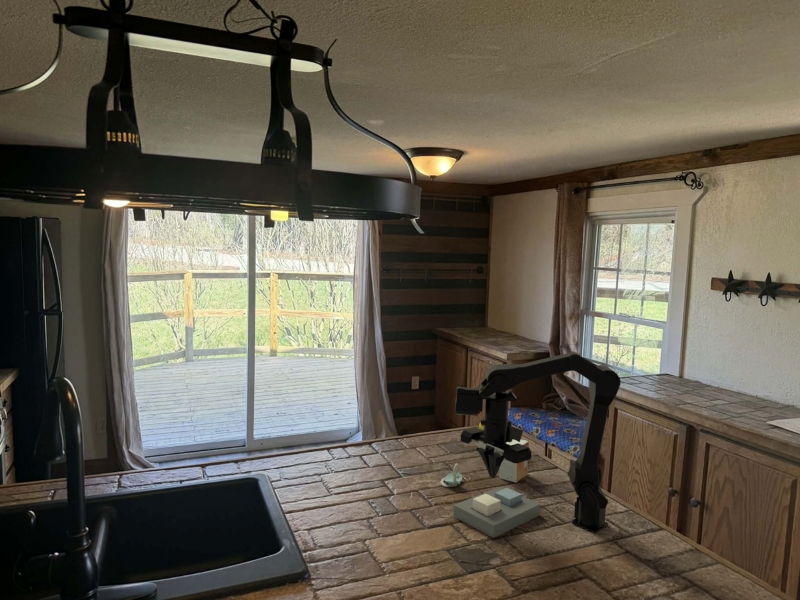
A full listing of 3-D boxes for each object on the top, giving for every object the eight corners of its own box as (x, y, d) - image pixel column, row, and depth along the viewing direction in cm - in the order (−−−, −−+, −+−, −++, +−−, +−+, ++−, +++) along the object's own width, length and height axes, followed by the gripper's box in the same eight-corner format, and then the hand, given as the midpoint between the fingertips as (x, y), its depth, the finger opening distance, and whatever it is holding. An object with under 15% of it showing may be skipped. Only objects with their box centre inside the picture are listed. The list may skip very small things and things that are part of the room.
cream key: (500, 510, 136) (500, 500, 136) (487, 516, 133) (487, 505, 133) (485, 503, 140) (485, 493, 140) (472, 508, 137) (472, 498, 137)
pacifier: (438, 488, 155) (459, 490, 154) (438, 467, 155) (459, 468, 153) (442, 478, 162) (463, 480, 161) (442, 457, 162) (463, 459, 160)
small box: (516, 483, 159) (517, 448, 158) (498, 478, 163) (500, 443, 162) (527, 474, 166) (529, 440, 165) (510, 470, 169) (512, 436, 168)
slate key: (521, 503, 142) (521, 494, 141) (509, 509, 139) (509, 499, 138) (506, 497, 145) (506, 487, 145) (494, 502, 142) (495, 492, 142)
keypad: (539, 515, 140) (540, 504, 140) (493, 537, 129) (493, 525, 128) (500, 497, 150) (500, 486, 150) (453, 516, 139) (453, 505, 138)
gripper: (547, 421, 134) (543, 483, 135) (489, 402, 148) (486, 458, 150) (517, 429, 127) (514, 494, 128) (460, 409, 141) (457, 467, 143)
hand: (492, 477), depth 138 cm, fingers closed
